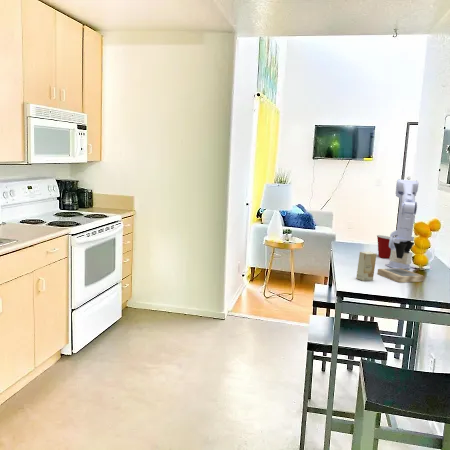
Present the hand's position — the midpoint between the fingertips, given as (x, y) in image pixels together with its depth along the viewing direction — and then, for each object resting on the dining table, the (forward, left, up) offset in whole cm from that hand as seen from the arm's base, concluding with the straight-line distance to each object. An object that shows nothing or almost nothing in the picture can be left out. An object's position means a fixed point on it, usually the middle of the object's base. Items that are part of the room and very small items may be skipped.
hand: (401, 257), depth 205 cm
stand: (0, 0, -9) cm, 9 cm away
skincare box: (+20, 0, -10) cm, 22 cm away
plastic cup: (-24, -37, -10) cm, 45 cm away
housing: (0, -1, -2) cm, 2 cm away
